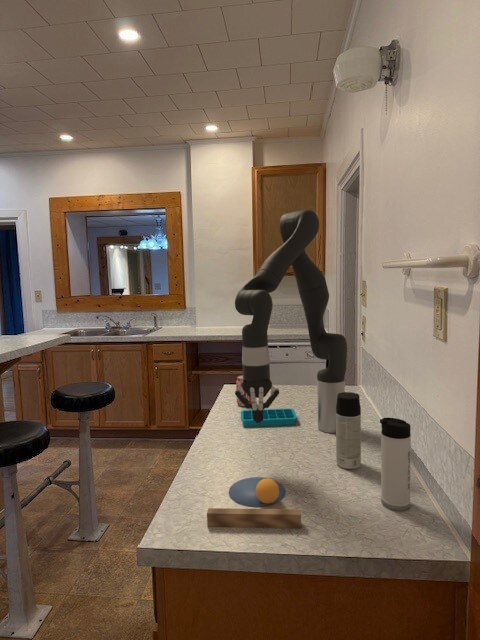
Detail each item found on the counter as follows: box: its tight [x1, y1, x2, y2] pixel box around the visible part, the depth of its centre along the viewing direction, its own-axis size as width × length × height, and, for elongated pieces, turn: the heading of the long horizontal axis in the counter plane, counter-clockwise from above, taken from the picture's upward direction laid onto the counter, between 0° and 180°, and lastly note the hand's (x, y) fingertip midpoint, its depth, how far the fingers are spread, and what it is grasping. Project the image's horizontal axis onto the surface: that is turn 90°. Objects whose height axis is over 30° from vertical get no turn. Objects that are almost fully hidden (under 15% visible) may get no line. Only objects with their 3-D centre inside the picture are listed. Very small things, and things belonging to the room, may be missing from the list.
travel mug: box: [379, 417, 412, 512], centre depth 94 cm, size 6×7×20 cm
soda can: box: [235, 374, 252, 408], centre depth 174 cm, size 7×7×12 cm
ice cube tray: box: [240, 408, 298, 428], centre depth 153 cm, size 12×20×3 cm, turn 91°
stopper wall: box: [206, 507, 302, 529], centre depth 89 cm, size 20×2×3 cm, turn 85°
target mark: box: [228, 476, 286, 508], centre depth 103 cm, size 14×14×1 cm
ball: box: [256, 477, 279, 504], centre depth 98 cm, size 6×6×6 cm
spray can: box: [335, 391, 362, 470], centre depth 115 cm, size 7×7×20 cm
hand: (258, 422), depth 117 cm, fingers closed
